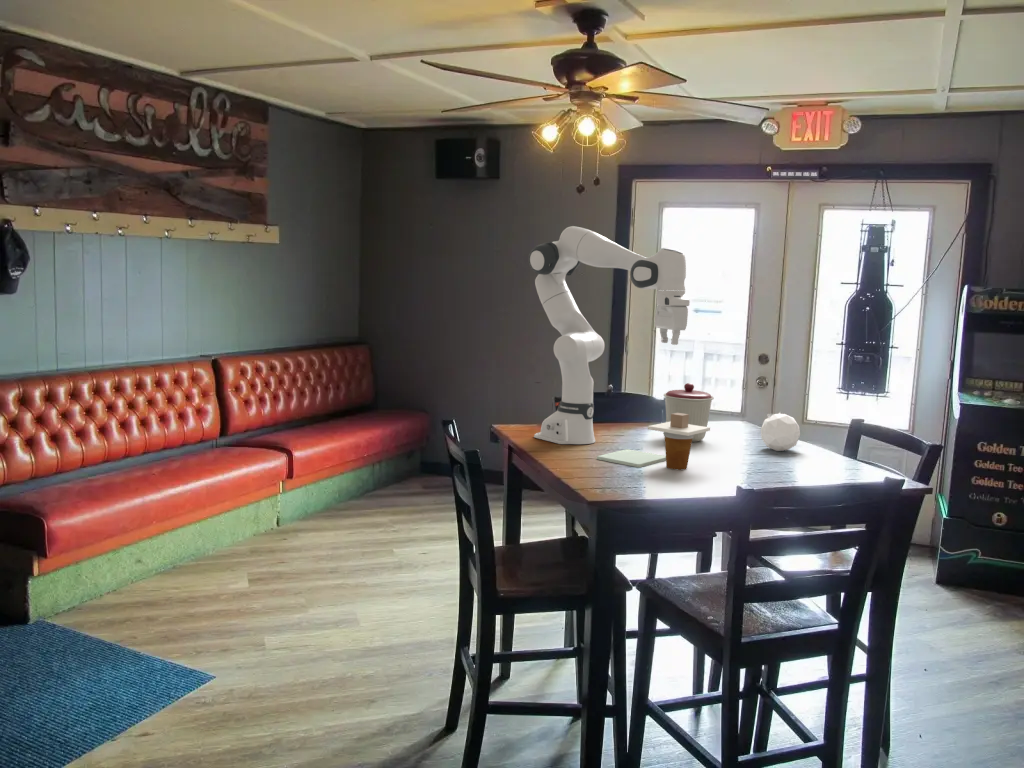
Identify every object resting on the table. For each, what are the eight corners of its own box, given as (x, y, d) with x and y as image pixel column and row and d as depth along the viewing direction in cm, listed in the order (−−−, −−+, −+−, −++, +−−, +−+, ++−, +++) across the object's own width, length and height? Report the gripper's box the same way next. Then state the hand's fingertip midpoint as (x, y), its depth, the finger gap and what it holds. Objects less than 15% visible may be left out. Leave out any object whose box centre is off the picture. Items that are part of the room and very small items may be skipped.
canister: (720, 443, 314) (724, 386, 311) (675, 445, 308) (679, 386, 306) (695, 434, 331) (698, 380, 328) (652, 435, 326) (655, 380, 323)
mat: (596, 459, 279) (597, 456, 279) (627, 451, 293) (627, 449, 293) (639, 467, 269) (639, 464, 269) (668, 459, 283) (668, 456, 282)
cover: (647, 429, 268) (648, 413, 268) (670, 424, 279) (671, 409, 278) (688, 435, 259) (689, 419, 259) (709, 430, 270) (711, 414, 269)
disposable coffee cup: (667, 471, 265) (670, 432, 264) (656, 464, 274) (658, 427, 273) (697, 471, 267) (699, 432, 266) (685, 464, 276) (687, 427, 275)
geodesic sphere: (755, 436, 299) (781, 406, 298) (745, 429, 313) (771, 400, 311) (786, 462, 300) (813, 432, 298) (775, 454, 313) (801, 425, 312)
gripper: (650, 299, 283) (649, 341, 284) (672, 300, 263) (670, 345, 264) (669, 299, 284) (667, 341, 285) (691, 300, 264) (690, 345, 265)
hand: (669, 343), depth 275 cm, fingers open, 8 cm apart
